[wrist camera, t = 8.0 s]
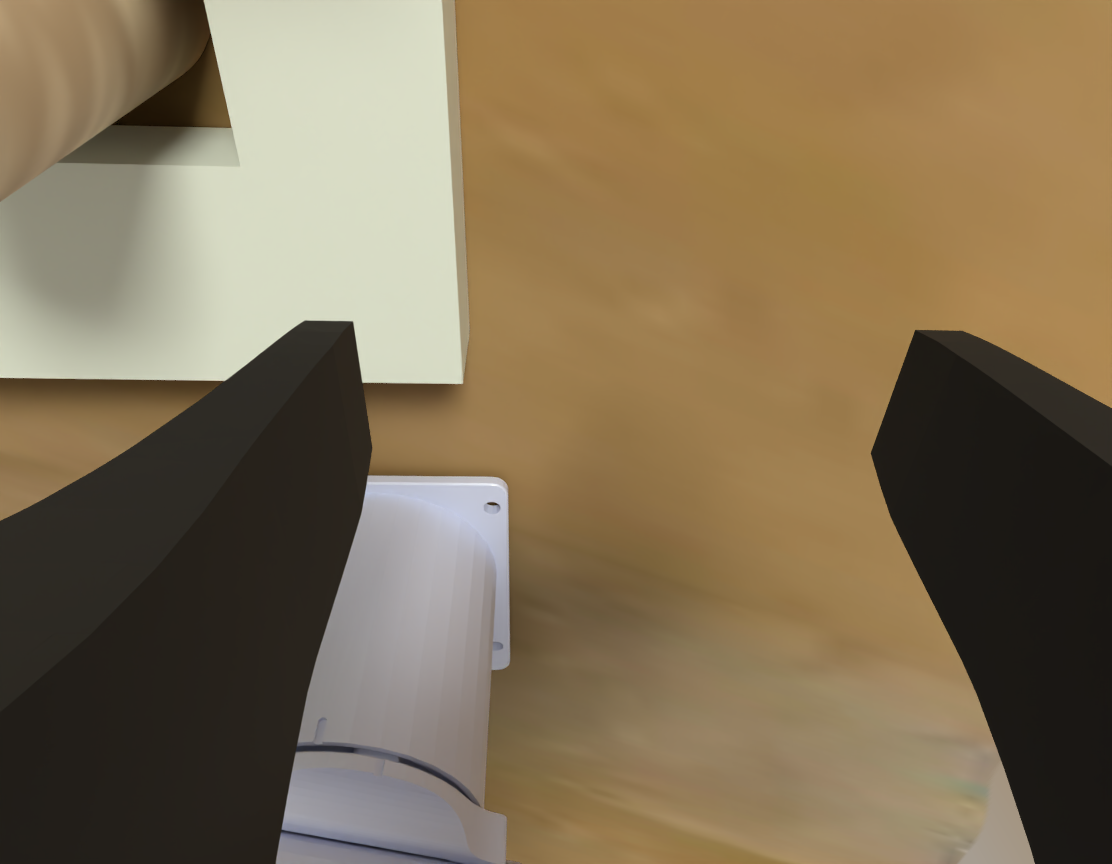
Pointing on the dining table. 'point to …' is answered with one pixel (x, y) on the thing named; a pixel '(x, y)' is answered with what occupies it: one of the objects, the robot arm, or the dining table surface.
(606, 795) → the dining table surface
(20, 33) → the peg
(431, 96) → the socket board
